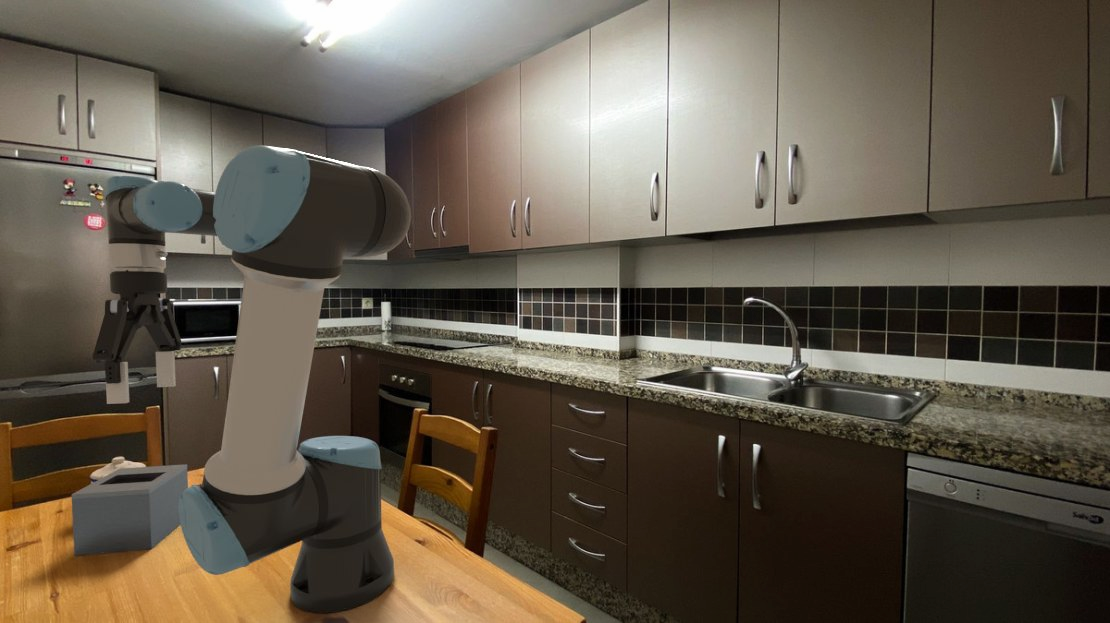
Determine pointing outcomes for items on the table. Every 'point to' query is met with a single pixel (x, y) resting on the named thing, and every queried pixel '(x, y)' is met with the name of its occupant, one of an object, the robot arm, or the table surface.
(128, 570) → the table surface
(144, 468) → the grey hollow block
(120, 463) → the teacup with lid
